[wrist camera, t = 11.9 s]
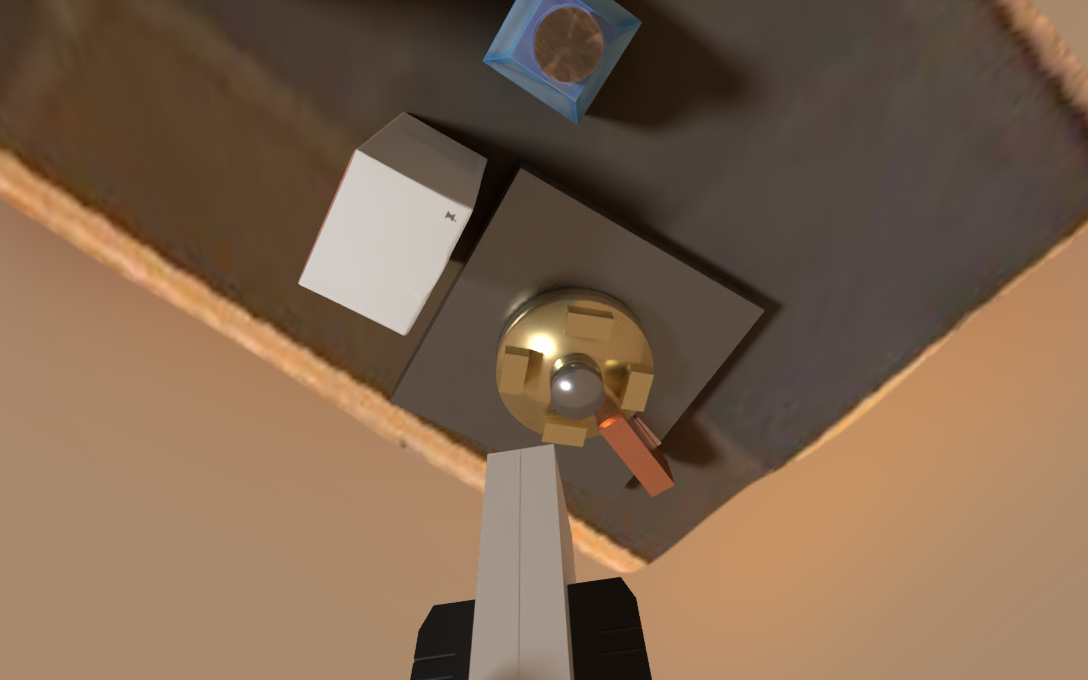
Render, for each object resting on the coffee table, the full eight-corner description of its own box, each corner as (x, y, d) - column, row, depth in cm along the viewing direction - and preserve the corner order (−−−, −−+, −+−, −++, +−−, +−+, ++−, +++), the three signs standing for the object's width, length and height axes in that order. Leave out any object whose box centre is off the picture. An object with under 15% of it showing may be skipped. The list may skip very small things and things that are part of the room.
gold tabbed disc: (466, 343, 46) (462, 367, 43) (594, 258, 44) (600, 277, 40) (598, 497, 53) (603, 528, 50) (716, 431, 50) (729, 460, 47)
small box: (402, 109, 42) (355, 144, 30) (490, 158, 43) (477, 209, 31) (354, 216, 45) (294, 286, 33) (437, 258, 46) (408, 339, 34)
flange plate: (395, 384, 51) (374, 444, 43) (520, 160, 43) (520, 188, 36) (610, 483, 56) (623, 552, 48) (755, 297, 48) (795, 346, 41)
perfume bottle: (625, 21, 40) (663, 22, 29) (570, 111, 42) (586, 142, 31) (541, -41, 38) (547, -66, 27) (488, 55, 40) (475, 68, 30)
